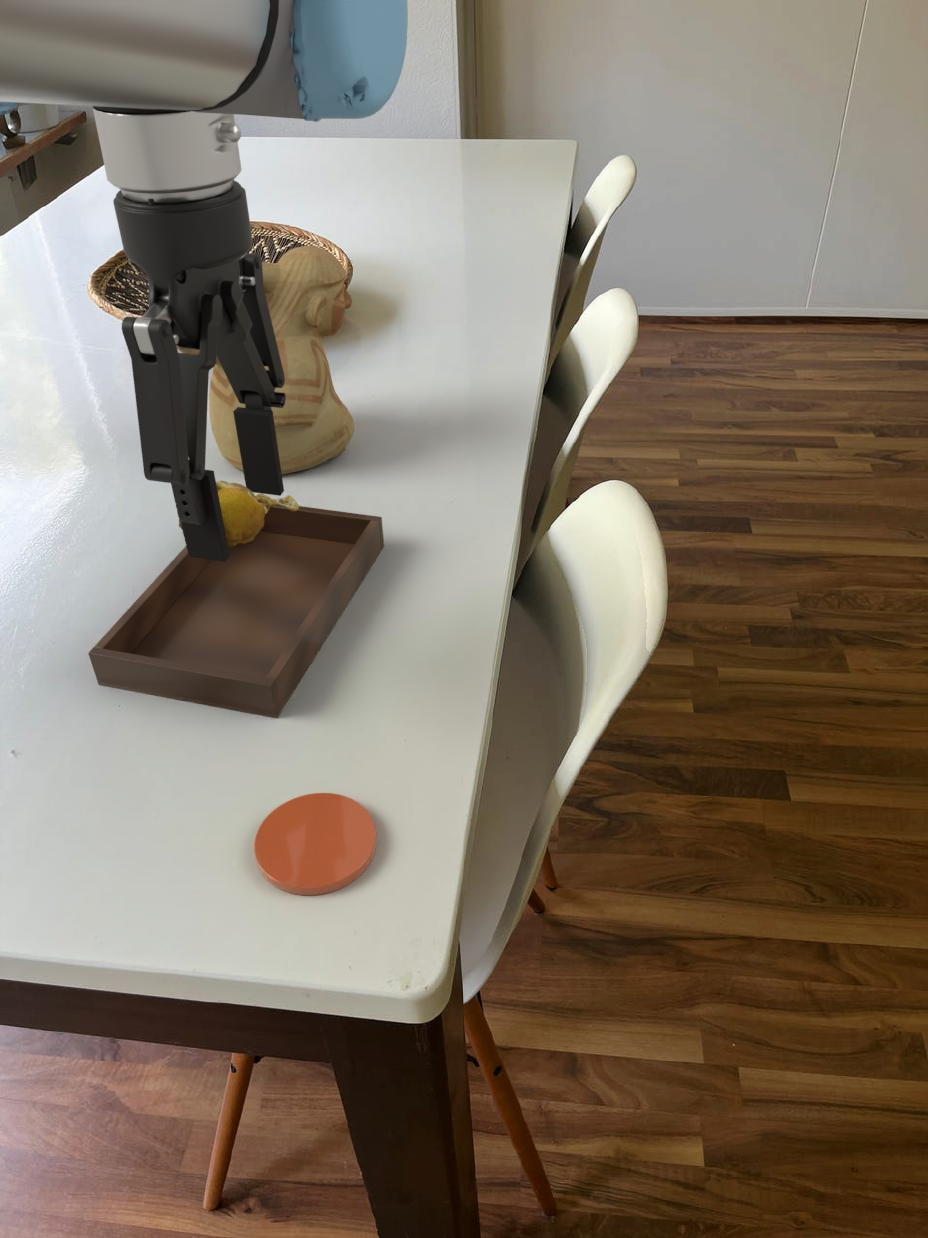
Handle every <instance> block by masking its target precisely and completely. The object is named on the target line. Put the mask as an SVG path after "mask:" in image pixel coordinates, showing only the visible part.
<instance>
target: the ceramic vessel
mask: <svg viewBox="0 0 928 1238" xmlns="http://www.w3.org/2000/svg"><path fill="white" fill-rule="evenodd" d="M262 271H263V285H264V292H265V296H266V300H267V304H268V308H269V313H270V317H271V321H272V325H273V329H274V334H275V338H276V342H277V346H278V350H279V355H280V359H281V363H282V367H283V371H284V376H285V382H284V386H283V387H282V388H276V389H275V392H280V393H285V396H286V401H285V405H284V407H283V408H277V407H271V410H272V411H273V417H274V424H275V431H276V438H277V445H278V452H279V459H280V466H281V473H282V475H287V474H291V473H296V472H302V471H306V470H308V469H311V468H314V467H317V466H319V465H321V464H323V463H326V462H327V461H329V460H330V459H333V458H337V457H339V456H340V455H342V454H343V453H344V452H345V451H346V450H347V447H348V445H349V443H350V442H351V440H352V438H353V436H354V434H355V423H354V419H353V417H352V414H351V413H350V411H349V409H348V407H347V406H346V405H345V404H344V402H343V401H342V400H341V399H340V397H339V395H338V393H337V391H336V390H335V386H334V384H333V383H334V382H333V380H332V375H331V369H330V363H329V360H328V357H327V355H326V351H325V349H324V346H323V341H322V340H323V338H324V337H334V336H335V335H336V334H337V333H338V331H339V330H340V329H341V328H342V325H343V323H344V321H345V312H346V310H348V309H350V308H351V307H352V304H353V299H352V296H351V294H350V293H349V292H348V290H347V289H346V287H345V280H346V278H347V271H346V270H345V267H344V266H343V264H342V263H341V261H340V260H339V259H338V257H336V256H335V255H334V254H333V253H331V252H330V251H328V250H326V249H325V248H322V247H320V246H314V245H303V246H302V245H301V246H298V247H293V248H292V249H289V250H288V251H286V252H285V253H283V254H282V256H280V258H279V260H278V261H277V262H264V261H262ZM176 347H177V350H178V351H180V353H186V354H198V353H199V350H191V349H180V347H178V346H177V345H176ZM264 367H265V370H269V368H268V366H264ZM237 407H243V408H245V404H241V403H239V401H238V399H237V397H236V395H235V393H234V391H233V389H232V387H231V385H230V383H229V380H228V378H227V376H226V374H225V372H224V370H223V368H222V366H221V364H220V362H219V360H218V358H217V361H216V365H215V366H214V367H213V368H212V373H211V376H210V382H209V388H208V413H209V421H210V426H211V431H212V435H213V438H214V440H215V443H216V446H217V448H218V450H219V453H220V454H221V456H222V457H223V458H224V459H225V461H227V462H228V463H229V464H230V465H231V466H232V467H234V468H235V469H237V470H239V471H241V472H243V466H242V460H241V454H240V449H239V443H238V437H237V431H236V425H235V419H234V413H233V411H234V410H235V409H236V408H237Z"/></svg>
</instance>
